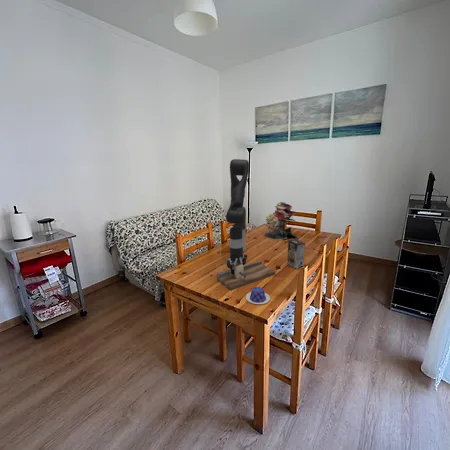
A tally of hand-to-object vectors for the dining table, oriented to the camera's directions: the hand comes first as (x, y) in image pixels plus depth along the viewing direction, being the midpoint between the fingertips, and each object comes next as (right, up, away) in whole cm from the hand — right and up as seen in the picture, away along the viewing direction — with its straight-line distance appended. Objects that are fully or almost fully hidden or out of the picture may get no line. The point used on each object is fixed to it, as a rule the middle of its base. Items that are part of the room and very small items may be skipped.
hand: (236, 273), depth 143 cm
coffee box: (+38, +2, +16) cm, 42 cm away
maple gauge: (+1, -2, -2) cm, 3 cm away
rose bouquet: (+41, +18, +74) cm, 87 cm away
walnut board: (+6, -3, +3) cm, 7 cm away
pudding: (+10, -9, -19) cm, 23 cm away
